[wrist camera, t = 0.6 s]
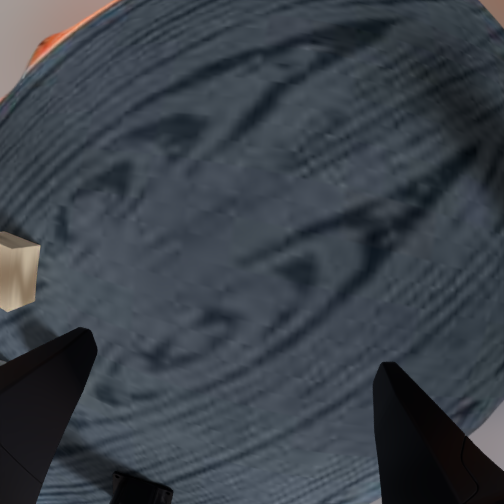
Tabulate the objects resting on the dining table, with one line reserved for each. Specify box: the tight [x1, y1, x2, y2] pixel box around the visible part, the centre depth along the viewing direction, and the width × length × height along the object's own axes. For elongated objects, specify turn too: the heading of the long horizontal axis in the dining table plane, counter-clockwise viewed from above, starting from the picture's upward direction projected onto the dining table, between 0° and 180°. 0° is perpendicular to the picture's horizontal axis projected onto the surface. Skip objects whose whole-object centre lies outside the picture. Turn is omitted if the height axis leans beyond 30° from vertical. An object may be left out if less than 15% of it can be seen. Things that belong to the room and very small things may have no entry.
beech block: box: [0, 231, 40, 312], centre depth 19 cm, size 5×5×4 cm
